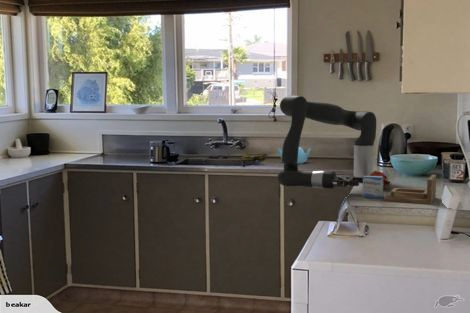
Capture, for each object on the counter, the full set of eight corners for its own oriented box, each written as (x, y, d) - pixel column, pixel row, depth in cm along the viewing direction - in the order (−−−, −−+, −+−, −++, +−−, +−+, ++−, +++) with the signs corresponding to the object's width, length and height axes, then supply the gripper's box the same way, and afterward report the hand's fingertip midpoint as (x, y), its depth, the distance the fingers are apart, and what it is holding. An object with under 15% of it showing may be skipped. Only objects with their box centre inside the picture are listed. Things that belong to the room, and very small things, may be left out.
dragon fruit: (371, 189, 278) (385, 197, 267) (359, 179, 274) (372, 188, 263) (382, 174, 277) (397, 182, 266) (370, 164, 274) (384, 172, 263)
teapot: (313, 163, 357) (313, 144, 356) (293, 165, 349) (293, 146, 347) (295, 160, 370) (295, 142, 368) (276, 162, 361) (276, 144, 360)
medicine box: (362, 197, 251) (362, 176, 250) (364, 195, 255) (364, 175, 254) (381, 198, 249) (382, 177, 247) (383, 196, 253) (383, 175, 252)
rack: (390, 194, 256) (391, 172, 255) (435, 197, 248) (436, 174, 247) (383, 200, 243) (384, 177, 242) (430, 204, 236) (431, 179, 234)
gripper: (318, 173, 253) (357, 175, 246) (328, 168, 266) (365, 170, 259) (318, 191, 254) (356, 193, 247) (328, 185, 267) (365, 187, 260)
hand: (361, 181), depth 253 cm, fingers open, 8 cm apart
